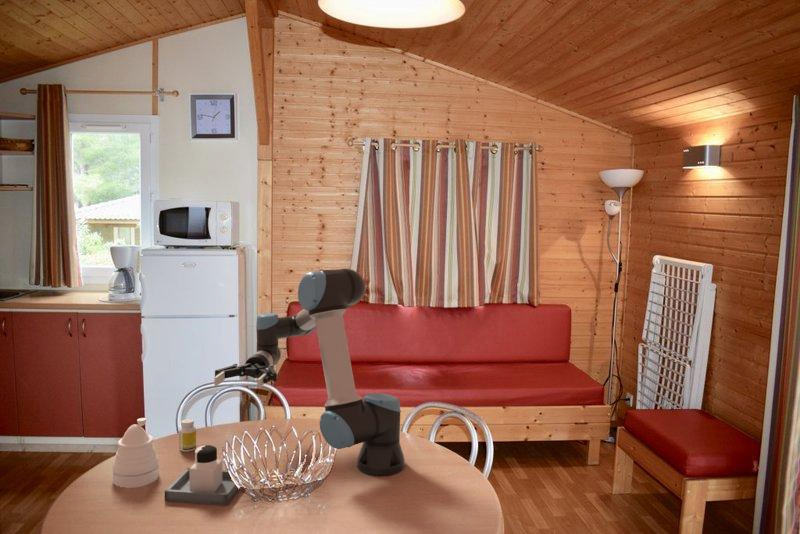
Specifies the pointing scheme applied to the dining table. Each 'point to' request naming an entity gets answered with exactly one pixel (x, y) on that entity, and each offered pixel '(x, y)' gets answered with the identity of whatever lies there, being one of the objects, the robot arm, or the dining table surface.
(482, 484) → the dining table surface
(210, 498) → the tray
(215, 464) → the medicine bottle
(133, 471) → the honey pot
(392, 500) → the dining table surface
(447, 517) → the dining table surface
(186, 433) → the supplement bottle
